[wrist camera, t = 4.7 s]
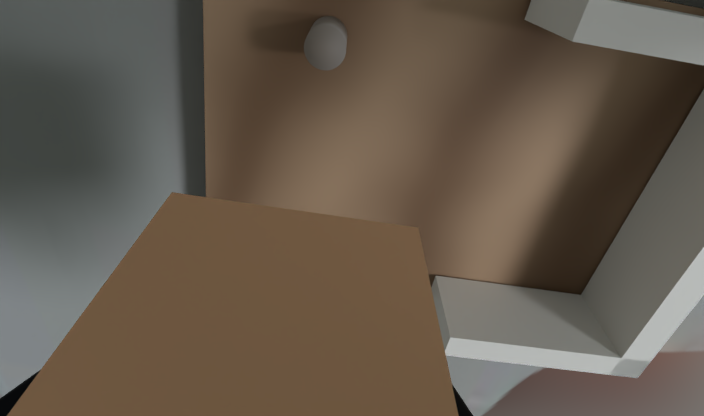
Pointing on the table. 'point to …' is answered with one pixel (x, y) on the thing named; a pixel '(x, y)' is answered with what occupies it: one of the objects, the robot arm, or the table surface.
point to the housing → (626, 249)
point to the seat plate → (441, 127)
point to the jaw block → (254, 322)
